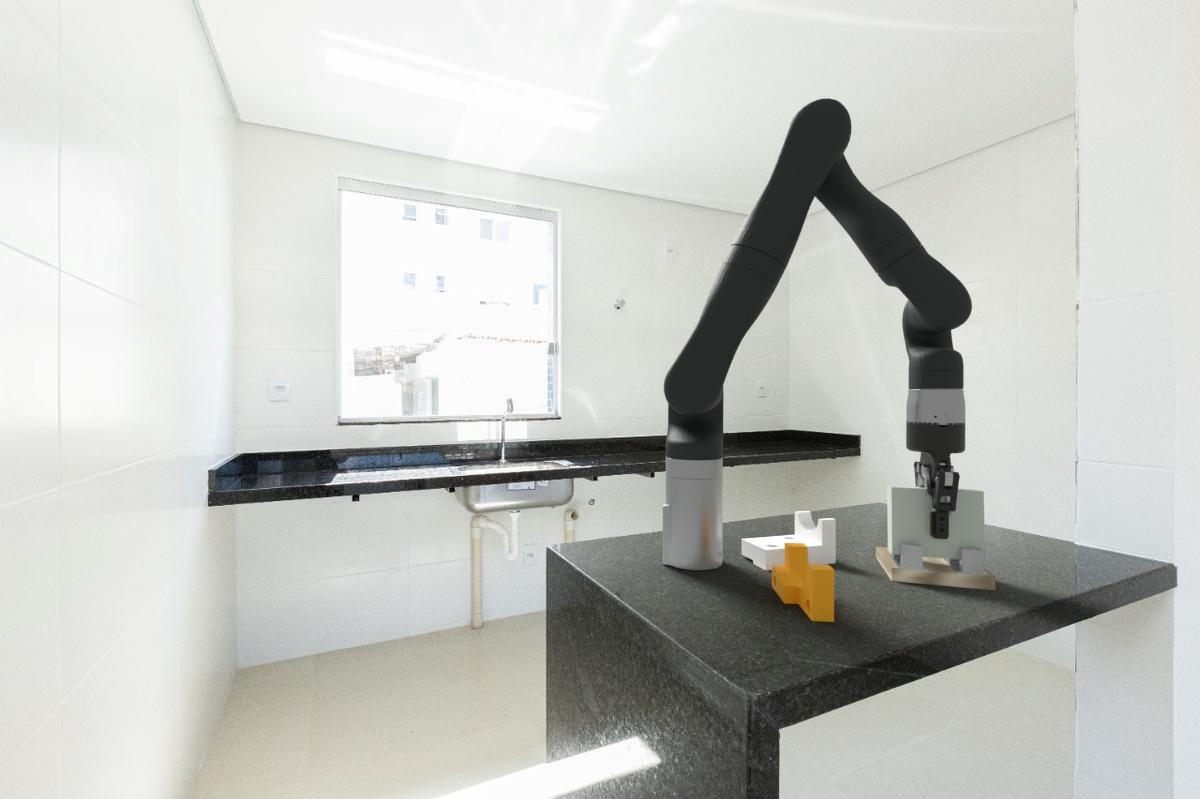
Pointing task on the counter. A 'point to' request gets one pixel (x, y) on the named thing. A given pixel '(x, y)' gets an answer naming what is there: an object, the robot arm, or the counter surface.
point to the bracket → (806, 532)
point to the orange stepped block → (805, 583)
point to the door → (913, 522)
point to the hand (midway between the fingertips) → (934, 533)
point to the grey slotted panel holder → (967, 564)
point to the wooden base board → (933, 573)
